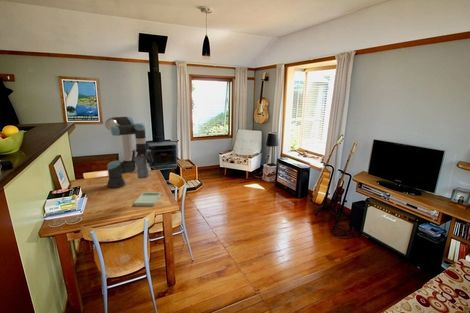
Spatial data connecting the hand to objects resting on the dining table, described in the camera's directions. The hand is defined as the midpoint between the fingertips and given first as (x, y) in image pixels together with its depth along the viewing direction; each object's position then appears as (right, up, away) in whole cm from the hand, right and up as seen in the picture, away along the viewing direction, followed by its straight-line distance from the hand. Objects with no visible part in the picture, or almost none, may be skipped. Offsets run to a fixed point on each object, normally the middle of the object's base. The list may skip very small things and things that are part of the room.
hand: (143, 170), depth 194 cm
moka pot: (0, -6, +1) cm, 6 cm away
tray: (+2, -25, +7) cm, 26 cm away
